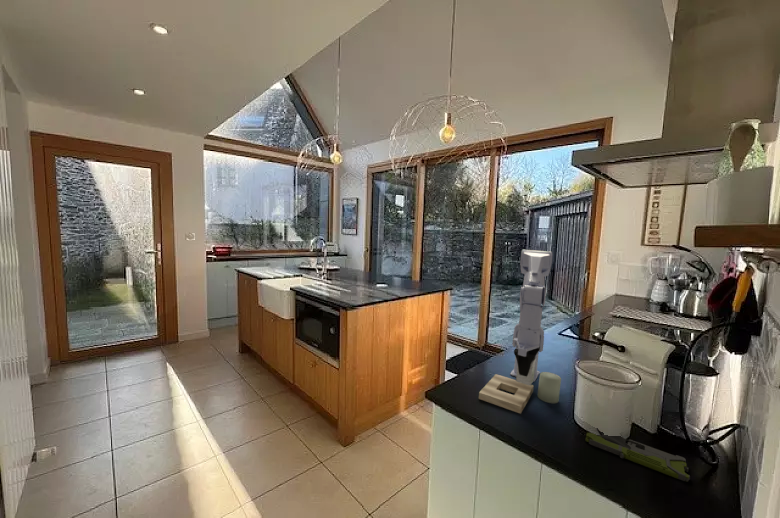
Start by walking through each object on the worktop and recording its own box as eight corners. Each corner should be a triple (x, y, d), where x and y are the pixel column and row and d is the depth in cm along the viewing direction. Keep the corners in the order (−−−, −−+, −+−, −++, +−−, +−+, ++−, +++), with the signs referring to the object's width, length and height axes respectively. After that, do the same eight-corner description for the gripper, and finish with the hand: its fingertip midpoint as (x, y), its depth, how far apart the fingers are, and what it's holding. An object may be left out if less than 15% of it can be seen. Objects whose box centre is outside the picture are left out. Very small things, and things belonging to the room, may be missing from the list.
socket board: (495, 379, 110) (495, 374, 110) (533, 391, 104) (533, 385, 103) (478, 398, 97) (479, 392, 97) (520, 413, 90) (521, 406, 90)
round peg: (539, 391, 104) (541, 370, 103) (559, 397, 101) (562, 375, 100) (535, 398, 99) (538, 376, 98) (557, 405, 96) (559, 382, 95)
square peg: (519, 376, 98) (521, 354, 98) (533, 380, 96) (535, 357, 95) (515, 381, 95) (518, 358, 94) (530, 385, 93) (533, 362, 92)
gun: (682, 450, 79) (689, 489, 67) (591, 418, 91) (583, 447, 79) (683, 440, 79) (691, 478, 67) (592, 410, 90) (585, 437, 78)
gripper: (520, 319, 102) (516, 360, 104) (508, 329, 90) (504, 377, 92) (545, 323, 98) (540, 367, 100) (536, 335, 86) (531, 385, 88)
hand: (524, 372), depth 95 cm, fingers closed on square peg, 4 cm apart
